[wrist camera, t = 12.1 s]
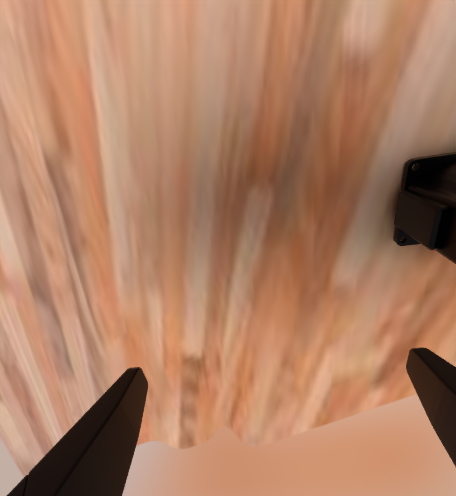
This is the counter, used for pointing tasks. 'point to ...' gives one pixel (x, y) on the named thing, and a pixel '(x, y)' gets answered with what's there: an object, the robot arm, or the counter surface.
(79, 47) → the counter surface
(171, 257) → the counter surface
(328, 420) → the counter surface
